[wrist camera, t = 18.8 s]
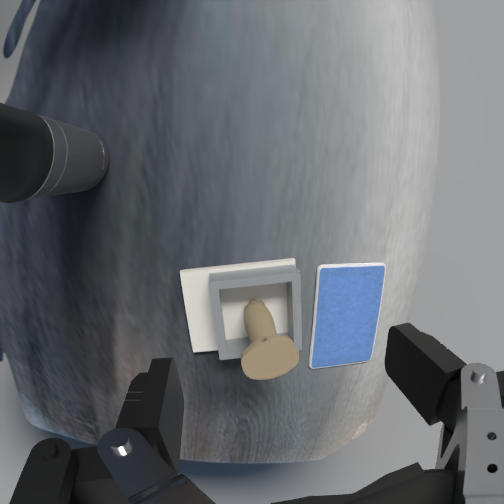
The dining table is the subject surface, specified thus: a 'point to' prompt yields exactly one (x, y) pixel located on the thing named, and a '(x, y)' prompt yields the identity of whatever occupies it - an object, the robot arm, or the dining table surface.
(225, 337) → the open box
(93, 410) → the dining table surface
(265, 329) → the handle
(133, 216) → the dining table surface
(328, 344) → the tablet computer
